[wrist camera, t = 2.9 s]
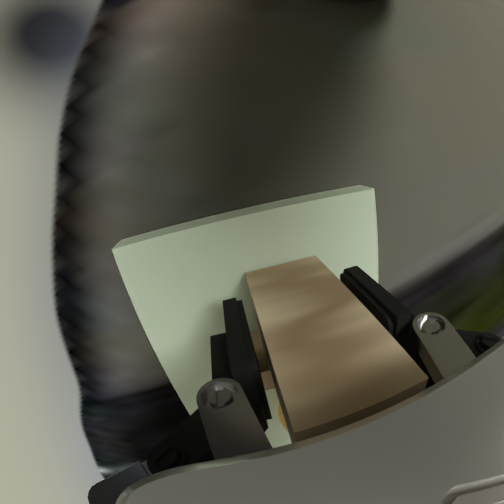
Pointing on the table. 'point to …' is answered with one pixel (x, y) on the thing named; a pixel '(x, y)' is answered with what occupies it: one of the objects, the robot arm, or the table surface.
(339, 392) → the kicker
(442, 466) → the robot arm
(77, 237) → the table surface
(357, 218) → the board
